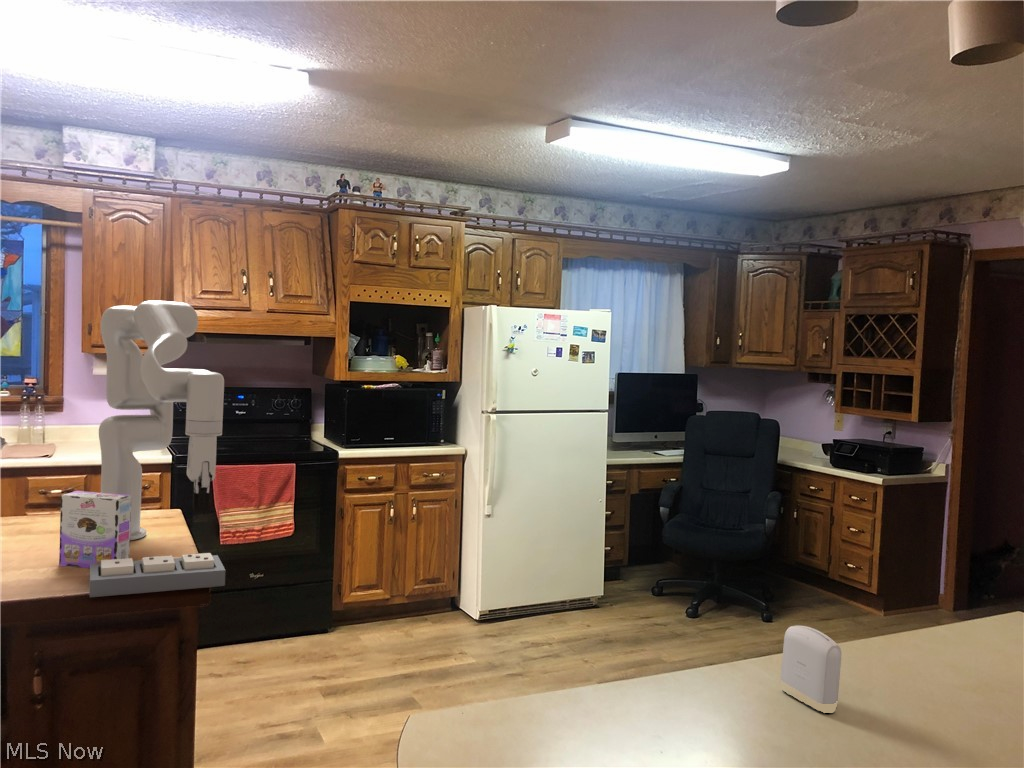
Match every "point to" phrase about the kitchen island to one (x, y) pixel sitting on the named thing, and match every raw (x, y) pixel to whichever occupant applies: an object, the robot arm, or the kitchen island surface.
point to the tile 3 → (197, 561)
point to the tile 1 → (117, 566)
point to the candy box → (94, 528)
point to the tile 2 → (158, 564)
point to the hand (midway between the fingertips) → (200, 510)
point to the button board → (155, 579)
